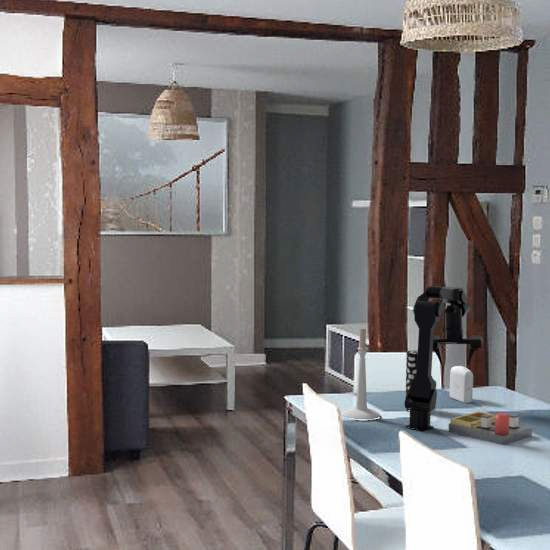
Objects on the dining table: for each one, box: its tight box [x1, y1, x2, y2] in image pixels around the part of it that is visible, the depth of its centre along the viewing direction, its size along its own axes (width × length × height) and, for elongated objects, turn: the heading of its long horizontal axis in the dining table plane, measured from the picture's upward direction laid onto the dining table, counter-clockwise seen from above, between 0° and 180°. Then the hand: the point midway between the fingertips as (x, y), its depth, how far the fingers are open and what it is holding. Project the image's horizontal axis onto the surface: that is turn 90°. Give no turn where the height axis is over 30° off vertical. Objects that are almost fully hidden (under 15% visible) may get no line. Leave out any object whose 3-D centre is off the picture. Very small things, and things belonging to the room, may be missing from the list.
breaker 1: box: [481, 413, 493, 428], centre depth 254 cm, size 2×2×3 cm
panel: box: [448, 411, 533, 445], centre depth 257 cm, size 16×20×4 cm
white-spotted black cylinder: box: [405, 350, 428, 410], centre depth 287 cm, size 8×8×20 cm
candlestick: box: [341, 327, 382, 419], centre depth 277 cm, size 13×13×30 cm
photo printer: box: [449, 365, 474, 404], centre depth 304 cm, size 10×4×12 cm, turn 22°
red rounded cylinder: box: [495, 412, 510, 435], centre depth 247 cm, size 4×4×6 cm
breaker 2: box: [509, 413, 520, 427], centre depth 255 cm, size 2×2×3 cm
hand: (455, 364), depth 292 cm, fingers open, 9 cm apart
